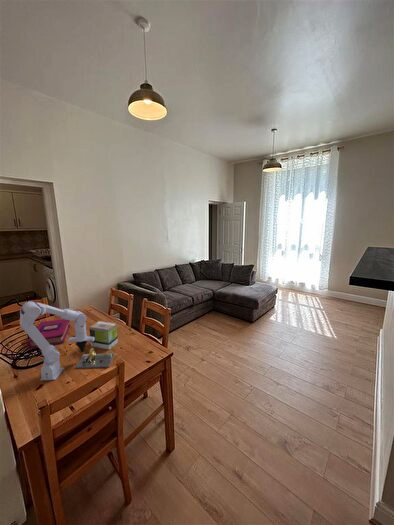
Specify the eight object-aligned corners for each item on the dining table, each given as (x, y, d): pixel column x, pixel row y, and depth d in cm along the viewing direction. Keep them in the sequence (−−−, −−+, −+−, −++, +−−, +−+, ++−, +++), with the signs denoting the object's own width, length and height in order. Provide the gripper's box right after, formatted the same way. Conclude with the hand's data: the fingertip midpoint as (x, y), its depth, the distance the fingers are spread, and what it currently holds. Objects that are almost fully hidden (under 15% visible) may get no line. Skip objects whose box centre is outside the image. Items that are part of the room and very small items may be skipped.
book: (27, 350, 144) (25, 339, 143) (40, 330, 170) (39, 321, 168) (63, 344, 151) (62, 334, 150) (70, 325, 177) (69, 317, 176)
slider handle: (92, 361, 130) (91, 353, 129) (86, 361, 130) (86, 353, 129) (95, 355, 137) (95, 347, 136) (91, 355, 136) (90, 347, 135)
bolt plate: (109, 367, 128) (108, 365, 128) (75, 368, 127) (75, 366, 126) (114, 355, 139) (114, 353, 139) (83, 356, 137) (83, 355, 137)
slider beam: (109, 361, 131) (108, 358, 131) (80, 362, 130) (79, 359, 130) (111, 356, 136) (111, 353, 136) (83, 357, 135) (83, 354, 135)
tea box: (118, 342, 154) (117, 323, 151) (109, 350, 145) (107, 330, 142) (100, 338, 158) (99, 320, 155) (90, 346, 148) (88, 326, 146)
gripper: (95, 327, 135) (97, 347, 138) (71, 328, 134) (73, 348, 137) (91, 333, 128) (93, 354, 131) (65, 334, 127) (68, 355, 130)
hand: (82, 351), depth 133 cm, fingers closed
